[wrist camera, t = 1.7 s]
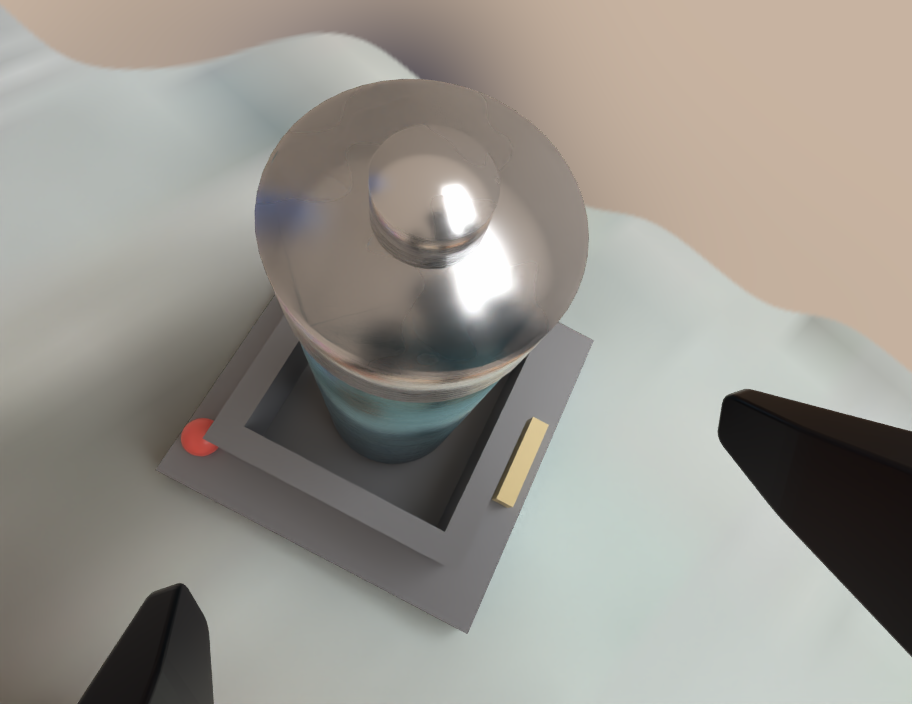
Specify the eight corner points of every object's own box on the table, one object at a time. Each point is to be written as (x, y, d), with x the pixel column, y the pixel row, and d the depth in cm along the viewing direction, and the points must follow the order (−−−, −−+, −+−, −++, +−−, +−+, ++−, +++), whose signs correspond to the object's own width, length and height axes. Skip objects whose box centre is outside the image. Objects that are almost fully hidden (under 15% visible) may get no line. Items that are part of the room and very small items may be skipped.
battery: (480, 373, 19) (660, 134, 7) (423, 489, 18) (525, 431, 6) (369, 315, 19) (363, -20, 7) (302, 426, 18) (155, 236, 6)
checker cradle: (583, 348, 21) (622, 316, 18) (462, 627, 18) (482, 653, 14) (337, 219, 21) (330, 165, 18) (166, 472, 18) (119, 462, 15)
